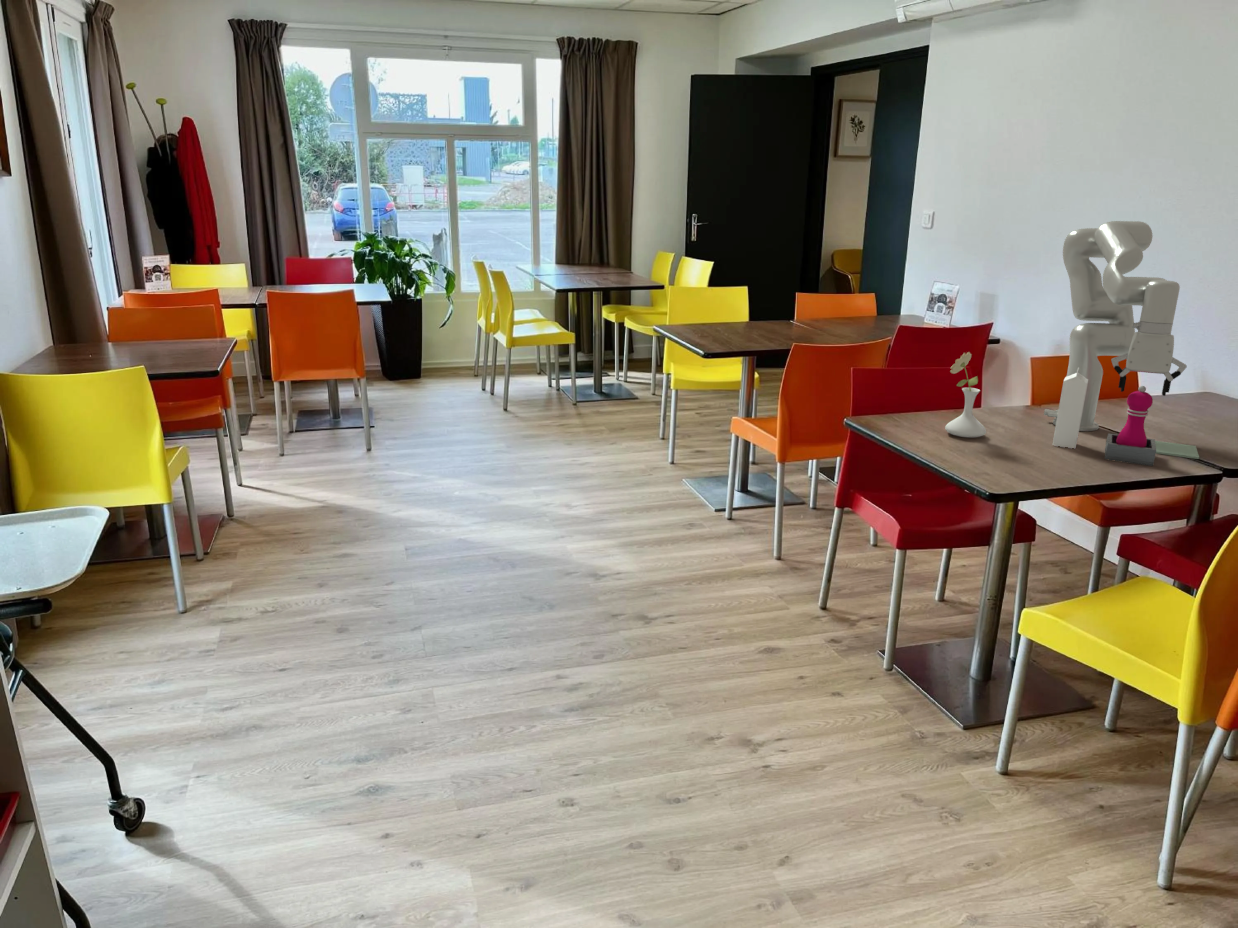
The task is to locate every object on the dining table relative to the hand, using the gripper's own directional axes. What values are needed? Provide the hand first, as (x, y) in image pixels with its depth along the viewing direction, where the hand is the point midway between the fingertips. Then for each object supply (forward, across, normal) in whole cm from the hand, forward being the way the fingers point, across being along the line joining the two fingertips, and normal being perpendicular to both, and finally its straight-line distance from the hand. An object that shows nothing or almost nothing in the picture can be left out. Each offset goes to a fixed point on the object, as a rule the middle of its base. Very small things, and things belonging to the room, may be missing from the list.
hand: (1142, 392), depth 236 cm
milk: (+18, -16, +5) cm, 25 cm away
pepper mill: (+18, 0, +1) cm, 18 cm away
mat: (+18, +10, +15) cm, 25 cm away
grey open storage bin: (+18, 0, +1) cm, 18 cm away
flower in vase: (+18, -43, 0) cm, 47 cm away
